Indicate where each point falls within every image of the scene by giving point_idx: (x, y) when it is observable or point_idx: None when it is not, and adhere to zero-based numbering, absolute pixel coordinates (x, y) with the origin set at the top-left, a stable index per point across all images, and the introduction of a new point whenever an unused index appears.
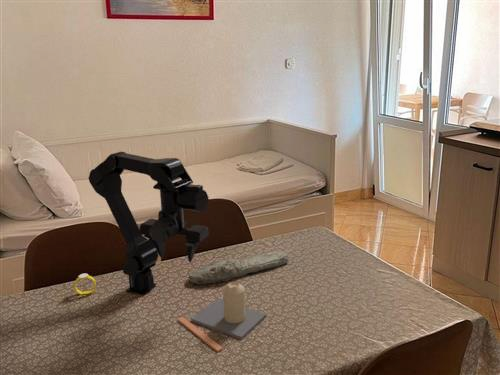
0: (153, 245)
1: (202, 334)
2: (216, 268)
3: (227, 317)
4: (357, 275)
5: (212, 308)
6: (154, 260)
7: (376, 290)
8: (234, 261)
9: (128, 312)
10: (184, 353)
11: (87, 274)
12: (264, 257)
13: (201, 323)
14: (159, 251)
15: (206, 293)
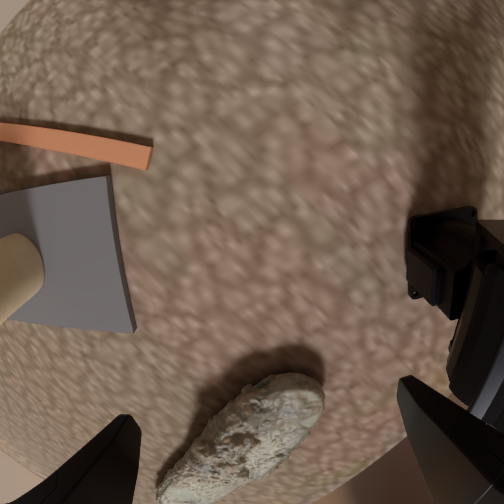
0: (498, 419)
1: (32, 139)
2: (228, 446)
3: (7, 238)
4: (50, 467)
5: (97, 273)
6: (454, 353)
7: (6, 435)
8: (224, 478)
9: (373, 86)
10: (33, 51)
11: None
12: (192, 497)
13: (67, 181)
14: (427, 409)
15: (204, 348)
